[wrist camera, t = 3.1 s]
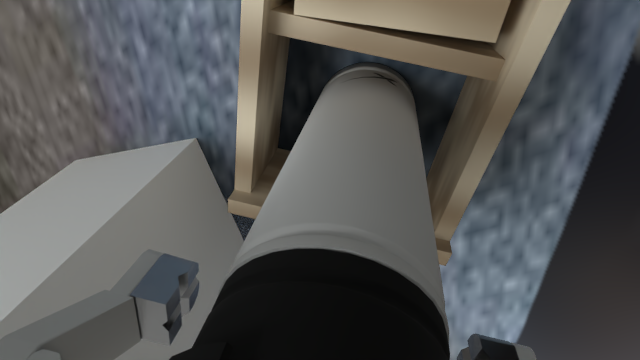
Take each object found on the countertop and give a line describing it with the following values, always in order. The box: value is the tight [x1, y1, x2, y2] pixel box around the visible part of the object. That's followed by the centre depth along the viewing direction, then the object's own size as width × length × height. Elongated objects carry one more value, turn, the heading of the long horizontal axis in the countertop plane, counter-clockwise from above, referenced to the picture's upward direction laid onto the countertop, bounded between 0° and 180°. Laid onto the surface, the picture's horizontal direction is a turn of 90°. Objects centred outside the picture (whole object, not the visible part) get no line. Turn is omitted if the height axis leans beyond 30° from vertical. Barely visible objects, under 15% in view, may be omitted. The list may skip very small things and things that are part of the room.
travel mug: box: [169, 62, 450, 360], centre depth 15 cm, size 6×7×20 cm
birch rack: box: [228, 0, 571, 266], centre depth 19 cm, size 18×13×7 cm
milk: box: [0, 138, 244, 360], centre depth 21 cm, size 12×12×26 cm
